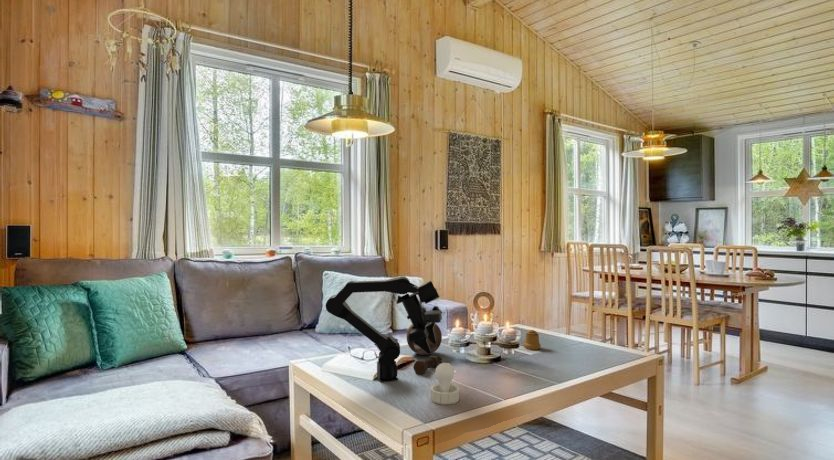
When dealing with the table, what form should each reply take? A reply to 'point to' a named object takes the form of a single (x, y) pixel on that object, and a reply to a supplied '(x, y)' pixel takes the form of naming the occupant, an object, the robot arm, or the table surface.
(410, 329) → the wooden sphere
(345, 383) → the table surface
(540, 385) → the table surface
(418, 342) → the robot arm
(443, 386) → the lightbulb
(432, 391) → the ring
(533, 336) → the brass bell
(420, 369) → the bolt
